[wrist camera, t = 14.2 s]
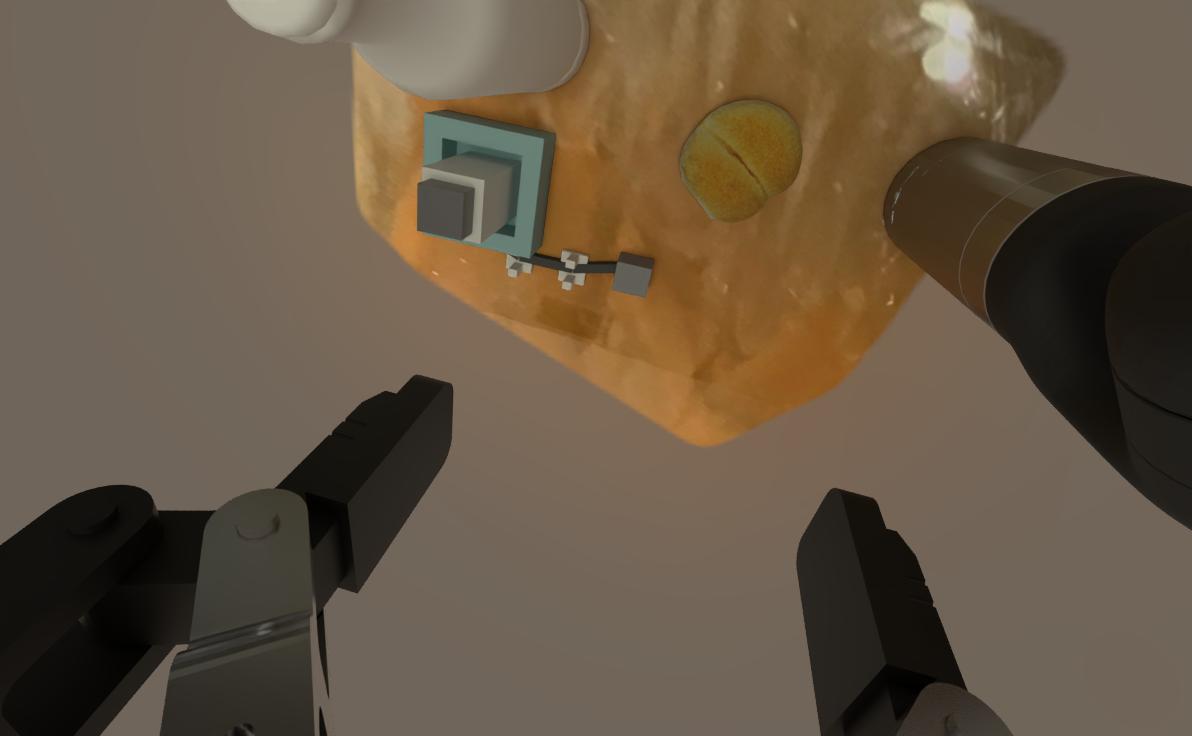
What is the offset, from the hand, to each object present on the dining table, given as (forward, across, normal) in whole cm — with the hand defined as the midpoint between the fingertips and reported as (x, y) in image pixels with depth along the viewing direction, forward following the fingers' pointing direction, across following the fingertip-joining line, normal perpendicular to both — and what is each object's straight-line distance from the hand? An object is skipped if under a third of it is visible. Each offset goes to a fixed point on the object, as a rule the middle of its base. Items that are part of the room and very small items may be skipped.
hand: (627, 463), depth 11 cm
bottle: (+38, +14, -6) cm, 41 cm away
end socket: (+37, +16, +5) cm, 41 cm away
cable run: (+37, +8, +11) cm, 39 cm away
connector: (+36, +16, +5) cm, 40 cm away
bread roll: (+38, -3, 0) cm, 38 cm away
